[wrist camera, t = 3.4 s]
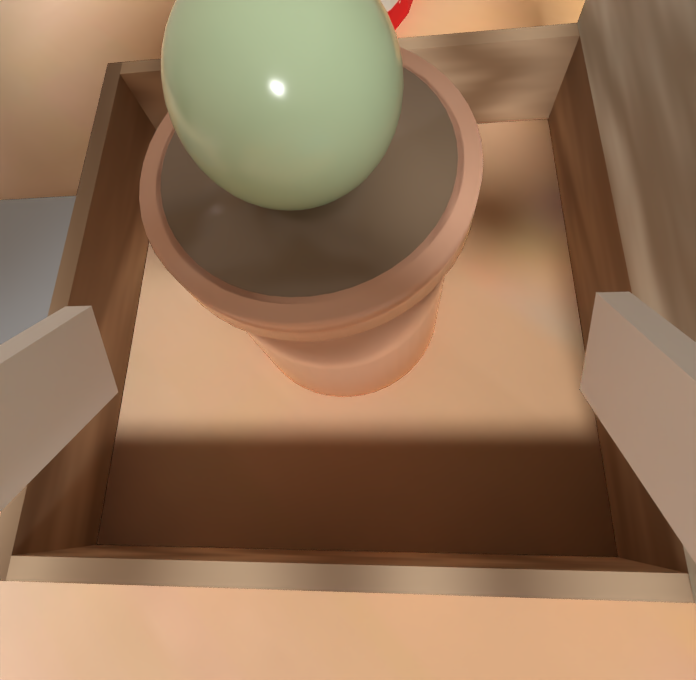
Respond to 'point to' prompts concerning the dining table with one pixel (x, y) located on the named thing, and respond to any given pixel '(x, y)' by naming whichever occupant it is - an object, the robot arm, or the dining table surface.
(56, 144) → the dining table surface
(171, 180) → the seedling pot
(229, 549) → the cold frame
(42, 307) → the slate tile
